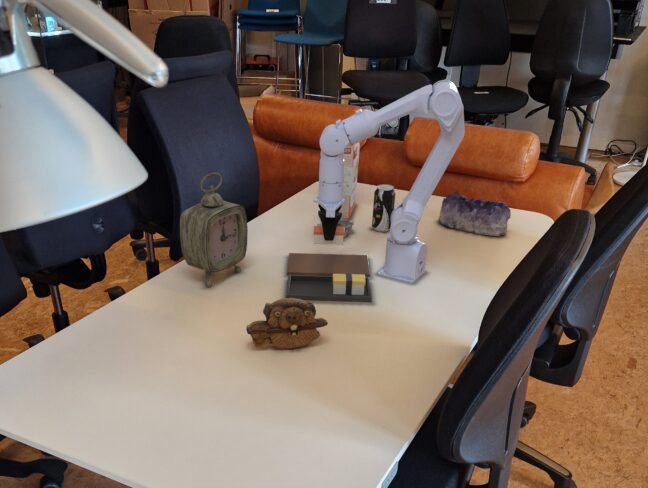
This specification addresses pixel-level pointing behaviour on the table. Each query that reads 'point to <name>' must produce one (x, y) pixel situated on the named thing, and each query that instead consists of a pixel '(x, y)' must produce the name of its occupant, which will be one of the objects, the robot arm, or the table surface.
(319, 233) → the salmon nigiri
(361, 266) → the serving board
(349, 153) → the cracker box
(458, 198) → the geode
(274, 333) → the wooden carving
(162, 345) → the table surface
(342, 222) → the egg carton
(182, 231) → the tabletop clock
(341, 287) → the tamago nigiri
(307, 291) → the sushi tray
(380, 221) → the beverage can
